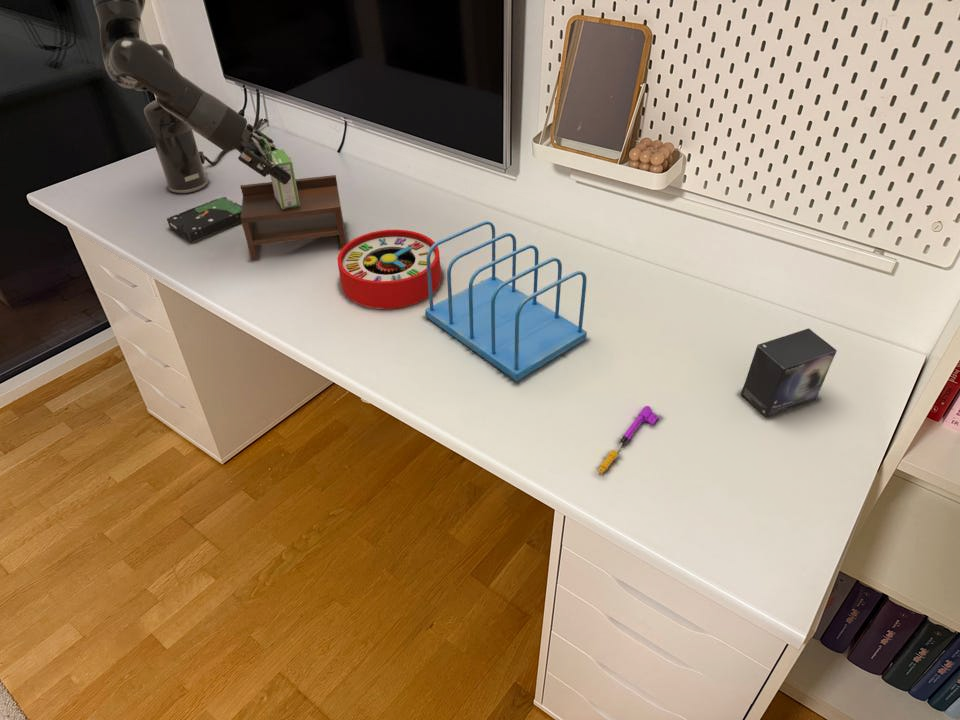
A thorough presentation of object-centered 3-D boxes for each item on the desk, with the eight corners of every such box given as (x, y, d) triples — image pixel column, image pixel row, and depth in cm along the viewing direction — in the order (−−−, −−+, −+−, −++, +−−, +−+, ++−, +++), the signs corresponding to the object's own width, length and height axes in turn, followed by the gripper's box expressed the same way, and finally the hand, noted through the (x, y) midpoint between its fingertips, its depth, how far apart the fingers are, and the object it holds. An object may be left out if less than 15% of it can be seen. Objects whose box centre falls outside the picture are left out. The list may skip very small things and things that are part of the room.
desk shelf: (253, 234, 155) (240, 185, 147) (343, 224, 158) (335, 174, 150) (251, 260, 146) (238, 209, 139) (346, 248, 149) (338, 197, 142)
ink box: (301, 206, 143) (289, 143, 135) (282, 210, 142) (268, 147, 133) (292, 192, 148) (280, 131, 140) (274, 196, 147) (260, 135, 138)
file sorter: (587, 340, 124) (594, 267, 114) (516, 384, 115) (518, 309, 105) (493, 282, 138) (493, 213, 128) (424, 317, 130) (418, 246, 120)
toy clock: (316, 257, 136) (393, 219, 147) (321, 282, 140) (395, 243, 151) (383, 296, 125) (460, 252, 136) (386, 321, 129) (461, 277, 140)
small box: (766, 420, 108) (784, 369, 101) (738, 394, 112) (754, 343, 105) (819, 400, 111) (839, 350, 104) (789, 376, 115) (808, 326, 109)
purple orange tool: (644, 407, 110) (595, 471, 100) (646, 403, 109) (598, 467, 99) (658, 417, 109) (611, 482, 99) (661, 412, 108) (613, 478, 99)
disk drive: (192, 245, 152) (250, 219, 160) (188, 233, 150) (247, 208, 158) (169, 229, 158) (226, 205, 166) (165, 218, 156) (223, 194, 164)
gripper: (223, 119, 125) (300, 173, 135) (228, 93, 136) (299, 144, 145) (201, 150, 128) (277, 201, 137) (207, 122, 139) (278, 170, 148)
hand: (288, 171), depth 141 cm, fingers closed on ink box, 7 cm apart
